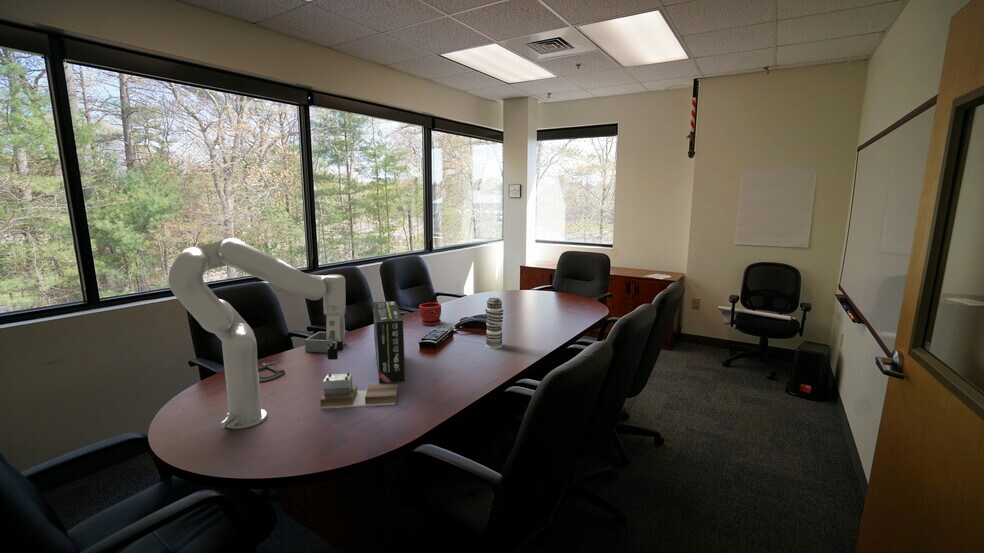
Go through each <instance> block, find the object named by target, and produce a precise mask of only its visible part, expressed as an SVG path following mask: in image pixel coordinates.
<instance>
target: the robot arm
mask: <svg viewBox="0 0 984 553" xmlns="http://www.w3.org/2000/svg"><path fill="white" fill-rule="evenodd" d="M226 266H228V267H229V268H233V269H235V270H239V271H240V272H244V273H245V274H248V275H251V276H254V277H255V278H258V279H260V280H262V281H265V282H267V283H269V284H271V285H274V286H276V287H279V288H281V289H284V290H285V291H288V292H289V293H290V292H291V293H292V294H295V295H297V296H299V297H302V298H304V299H308V300H310V301H317V300H320V299H322V298H323V299H322V300H323V314H324V315H325V316H326V319H325V321H326V326H325V327H326V329H325V330H326V331H325V332H326V334H327V341H328V342H329V343H328V353H327V359H328V360H331V361H332V360H338V359H339V358H338V355H339V354H338V352H342V351H343V350H344V348H343V347H344V345H343V338H344V336H345V337H346V323H345V315H346V312H347V310H346V308H347V304H346V303H347V302H346V278H345V276H344V275H342V274H327V275H319V274H308V273H306V272H303V271H301V270H299V269H297V268H295V267H293V266H292V265H290V264H288V263H287V262H285V261H284V260H283V259H281V258H278V257H276V256H275V255H272V254H270V253H267V252H265V251H263V250H260V249H258V248H256V247H254V246H252V245H250V244H247V243H245V242H243V241H242V240H240V239H239V238H234V237H233V238H232V237H231V238H226V239H221V240H219V241H214V242H209V243H206V244H202V245H198V246H192V247H189V248H185V249H184V250H182V251H181V252H179V254H178V255H177V257H176V258H175V260H174V262H173V264H172V265H171V266H170V270H169V271H168V272H169V273H168V278H167V279H168V285H169V288H170V290H171V292H172V293H173V295H174V296H175V298H176V299H177V300H178V301H179V302H180V303H181V304H182V306H183V307H184V308H185V309H186V310H187V311H188V312H189V314H190V315H191V316H192V317H193V318H194V319H195V320H196V322H198V324H199V325H200V326H201V328H203V329H204V330H205V331H207V332H208V333H212V334H214V335H215V336H216V337H217V338H218V339H219V340H220V341H221V348H222V357H223V368H224V377H225V387H226V395H227V396H226V398H227V406H228V407H227V408H228V412H227V414H226V416H227V417H225V419H224V420H223V421H221V422H220V423H219V428H221V429H224V428H227V429H231V430H232V429H233V430H239V429H241V430H242V429H247V428H251V427H254V426H257V425H259V424H261V423H262V422H264V421H265V420H266V419H267V417H268V413H267V411H266V410H265V409H263V408H262V402H261V400H262V399H261V390H260V389H261V388H260V382H259V376H260V375H259V371H258V367H259V366H258V347H257V345H258V344H257V339H256V336H255V332H254V329H252V327H251V326H250V325H249V324H248V323H247V321H246V320H245V319H244V318H243V317H242V316H241V315H240V314H239V312H238V311H237V310H236V309H235V308H234V307H233V306H232V305H231V303H229V302H228V301H227V300H224V299H220V298H219V297H218V296H217V295H216V294H215V293H214V292H213V290H212V289H211V288H210V287H209V286H208V285H207V284H206V282H205V281H204V275H205V274H206V272H207V271H211V270H215V269H218V268H223V267H226Z"/></svg>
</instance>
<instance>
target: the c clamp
mask: <svg viewBox="0 0 984 553" xmlns="http://www.w3.org/2000/svg"><path fill="white" fill-rule="evenodd" d="M278 363H281V361H279V360H278V361H275V362H269V363H266V362H263V363H262V364H261V365H260V366H258V372H260V371H264V370H267V369H268V370H270V371H272V372H274V373H275V374H271V375H269V376H260V375H259V383H264V382H269V381H273V380H274V379H277V378H279V377H280V376H284V375H285V374H286V371H285V370H284V369H278V368H275V367H273V366H271V365H275V364H278Z"/></svg>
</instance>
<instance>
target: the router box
mask: <svg viewBox="0 0 984 553" xmlns="http://www.w3.org/2000/svg"><path fill="white" fill-rule="evenodd" d="M372 316H373V331H374V332H373V335H374V346H375V347H374V348H375V358H376V368H377V374H378V375H377V376H378V383H379V384H392V383H398V382H404V381H406V364H405V363H406V362H405V361H406V360H405V340H404V338H405V337H404V335H405V334H404V319H403V317H402V314H401V311H400V309H399V306H398V303H397V301H396V300H393V301H392V300H391V301H387V300H386V301H374V302H373V305H372Z"/></svg>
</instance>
